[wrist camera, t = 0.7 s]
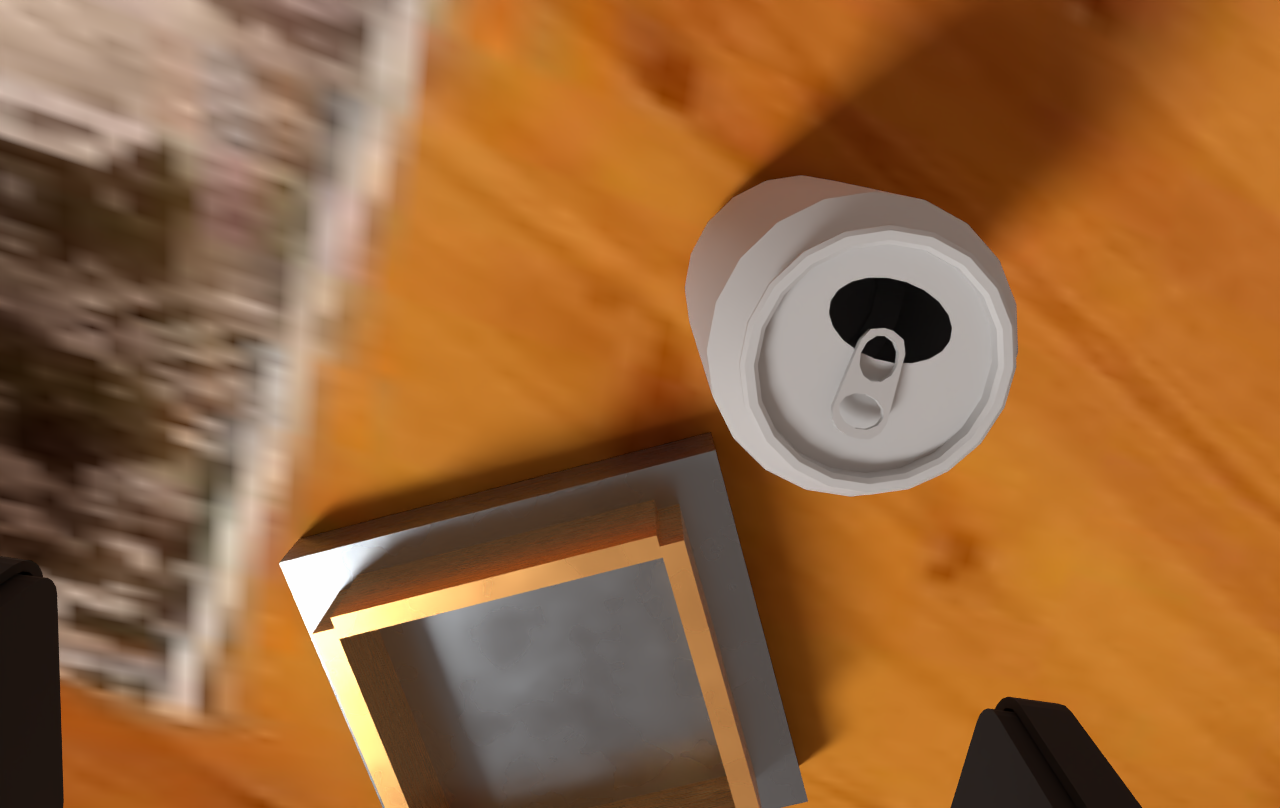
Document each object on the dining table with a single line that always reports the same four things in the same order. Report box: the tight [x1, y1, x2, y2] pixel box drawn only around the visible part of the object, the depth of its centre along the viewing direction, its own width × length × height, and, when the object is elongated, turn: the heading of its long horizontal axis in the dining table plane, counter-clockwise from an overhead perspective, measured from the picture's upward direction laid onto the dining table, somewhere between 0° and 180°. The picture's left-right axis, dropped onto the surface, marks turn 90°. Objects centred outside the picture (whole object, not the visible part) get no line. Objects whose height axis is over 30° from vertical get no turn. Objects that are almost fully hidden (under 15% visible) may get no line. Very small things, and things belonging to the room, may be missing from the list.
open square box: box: [279, 432, 808, 808], centre depth 33 cm, size 16×15×5 cm
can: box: [685, 175, 1018, 496], centre depth 26 cm, size 8×8×12 cm
